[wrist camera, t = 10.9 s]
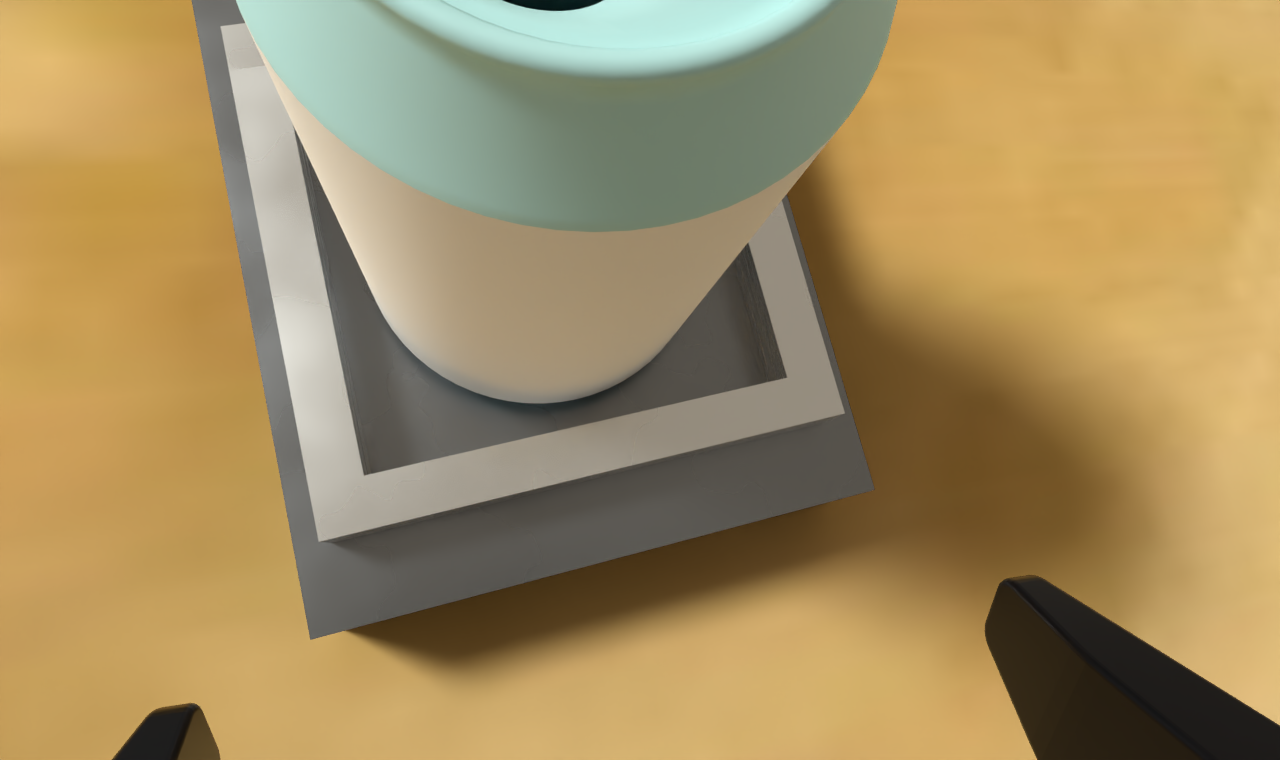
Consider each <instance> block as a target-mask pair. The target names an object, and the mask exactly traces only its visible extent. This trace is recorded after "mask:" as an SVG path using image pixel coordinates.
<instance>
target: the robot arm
mask: <svg viewBox="0 0 1280 760" xmlns="http://www.w3.org/2000/svg"><path fill="white" fill-rule="evenodd" d="M985 637H986V641H987V644H988V647H989V649H990V652H991V654H992V656H993V659H994V661H995V663H996V666H997V668H998V670H999V673H1000V675H1001V677H1002V680H1003V682H1004V684H1005V687H1006V689H1007V691H1008V694H1009V696H1010V698H1011V701H1012V703H1013V705H1014V708H1015V710H1016V712H1017V715H1018V717H1019V719H1020V722H1021V724H1022V726H1023V729H1024V731H1025V733H1026V736H1027V738H1028V740H1029V743H1030V745H1031V747H1032V749H1033V751H1034V753H1035V756H1036V758H1037V760H1280V725H1278V724H1277V723H1275V722H1273V721H1272V720H1270V719H1269V718H1267V717H1265V716H1264V715H1262V714H1260V713H1259V712H1257V711H1256V710H1254V709H1252V708H1251V707H1249V706H1248V705H1246V704H1244V703H1243V702H1241V701H1240V700H1238V699H1236V698H1235V697H1233V696H1232V695H1230V694H1228V693H1227V692H1225V691H1223V690H1222V689H1220V688H1219V687H1217V686H1215V685H1214V684H1212V683H1211V682H1209V681H1207V680H1206V679H1204V678H1203V677H1201V676H1199V675H1198V674H1196V673H1194V672H1193V671H1191V670H1190V669H1188V668H1186V667H1185V666H1183V665H1182V664H1180V663H1178V662H1177V661H1175V660H1174V659H1172V658H1170V657H1169V656H1167V655H1165V654H1164V653H1162V652H1161V651H1159V650H1157V649H1156V648H1154V647H1153V646H1151V645H1149V644H1148V643H1146V642H1145V641H1143V640H1141V639H1140V638H1138V637H1136V636H1135V635H1133V634H1132V633H1130V632H1128V631H1127V630H1125V629H1124V628H1122V627H1120V626H1119V625H1117V624H1116V623H1114V622H1112V621H1111V620H1109V619H1107V618H1106V617H1104V616H1103V615H1101V614H1099V613H1098V612H1096V611H1095V610H1093V609H1091V608H1090V607H1088V606H1087V605H1085V604H1083V603H1082V602H1080V601H1079V600H1077V599H1075V598H1074V597H1072V596H1070V595H1069V594H1067V593H1066V592H1064V591H1062V590H1061V589H1059V588H1058V587H1056V586H1054V585H1053V584H1051V583H1050V582H1048V581H1046V580H1045V579H1043V578H1041V577H1038V576H1035V575H1026V576H1020V577H1013V578H1007V579H1004V580H1003V581H1002V582H1001V583H1000V584H999V586H998V588H997V591H996V594H995V597H994V600H993V603H992V605H991V608H990V611H989V614H988V617H987V620H986V623H985ZM112 760H220V754H219V750H218V747H217V744H216V742H215V740H214V737H213V735H212V733H211V730H210V728H209V725H208V723H207V721H206V718H205V716H204V713H203V711H202V710H201V708H200V707H199V706H198V705H197V704H195V703H188V704H181V705H175V706H168V707H162V708H158V709H156V710H154V711H152V712H151V713H150V714H149V715H148V716H147V717H146V718H145V719H144V720H143V722H142V723H141V724H140V725H139V727H138V728H137V729H136V730H135V732H134V733H133V734H132V735H131V737H130V738H129V739H128V740H127V741H126V743H125V744H124V745H123V746H122V748H121V749H120V750H119V751H118V753H117V754H116V755H115V756H114V758H113V759H112Z"/></svg>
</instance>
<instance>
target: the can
mask: <svg viewBox="0 0 1280 760" xmlns="http://www.w3.org/2000/svg"><path fill="white" fill-rule="evenodd" d="M236 2H237V5H238V7H239V10H240V12H241V15H242V17H243V19H244V21H245V23H246V25H247V27H248V29H249V32H250V34H251V36H252V38H253V40H254V42H255V44H256V47H257V49H258V51H259V53H260V55H261V57H262V59H263V62H264V64H265V66H266V68H267V70H268V72H269V74H270V76H271V79H272V81H273V83H274V85H275V87H276V89H277V91H278V94H279V96H280V98H281V100H282V102H283V104H284V106H285V108H286V111H287V113H288V115H289V117H290V119H291V121H292V123H293V126H294V128H295V130H296V132H297V134H298V136H299V138H300V140H301V143H302V145H303V147H304V149H305V151H306V153H307V155H308V158H309V160H310V162H311V164H312V166H313V168H314V170H315V172H316V175H317V177H318V179H319V181H320V183H321V185H322V187H323V190H324V192H325V194H326V196H327V198H328V200H329V202H330V204H331V207H332V209H333V211H334V213H335V215H336V217H337V219H338V222H339V224H340V226H341V228H342V230H343V232H344V234H345V236H346V239H347V241H348V243H349V245H350V247H351V249H352V251H353V254H354V256H355V258H356V260H357V262H358V264H359V266H360V269H361V271H362V273H363V275H364V277H365V279H366V281H367V283H368V286H369V288H370V290H371V292H372V294H373V296H374V298H375V301H376V303H377V304H378V306H379V308H380V310H381V312H382V314H383V316H384V318H385V319H386V321H387V322H388V324H389V326H390V327H391V329H392V330H393V331H394V333H395V334H396V335H397V336H398V338H399V339H400V340H401V341H402V343H403V344H404V345H405V346H406V347H407V348H408V349H409V350H410V351H411V352H412V353H413V354H414V355H415V356H416V357H417V358H418V359H419V360H421V361H422V362H423V363H424V364H425V365H427V366H428V367H429V368H431V369H432V370H434V371H435V372H437V373H438V374H439V375H441V376H442V377H444V378H446V379H448V380H450V381H451V382H453V383H455V384H457V385H459V386H461V387H463V388H466V389H468V390H470V391H473V392H475V393H479V394H482V395H485V396H488V397H491V398H496V399H501V400H505V401H511V402H520V403H555V402H563V401H569V400H575V399H579V398H583V397H586V396H590V395H593V394H596V393H598V392H601V391H604V390H606V389H609V388H610V387H612V386H614V385H616V384H618V383H620V382H622V381H624V380H626V379H627V378H629V377H630V376H632V375H633V374H635V373H636V372H638V371H639V370H640V369H642V368H643V367H644V366H645V365H647V364H648V363H649V362H650V361H651V360H652V359H653V358H654V357H655V356H656V355H657V354H658V353H659V352H660V351H661V350H662V349H663V348H664V347H665V345H666V344H667V343H668V342H669V341H670V339H671V338H672V337H673V336H674V334H675V333H676V332H677V331H678V329H679V328H680V327H681V326H682V324H683V323H684V322H685V321H686V319H687V318H688V317H689V316H690V314H691V313H692V312H693V311H694V309H695V308H696V307H697V306H698V304H699V303H700V302H701V301H702V299H703V298H704V297H705V296H706V294H707V293H708V292H709V291H710V289H711V288H712V287H713V286H714V284H715V283H716V282H717V281H718V279H719V278H720V277H721V276H722V274H723V273H724V272H725V271H726V269H727V268H728V267H729V266H730V264H731V263H732V262H733V261H734V259H735V258H736V257H737V256H738V254H739V253H740V252H741V251H742V249H743V248H744V247H745V246H746V244H747V243H748V242H749V241H750V239H751V238H752V237H753V236H754V234H755V233H756V232H757V231H758V229H759V228H760V227H761V226H762V224H763V223H764V222H765V221H766V219H767V218H768V217H769V216H770V214H771V213H772V212H773V211H774V209H775V208H776V207H777V206H778V204H779V203H780V202H781V200H782V199H783V198H784V197H785V195H786V194H787V193H788V192H789V190H790V189H791V188H792V187H793V185H794V184H795V183H796V182H797V180H798V179H799V178H800V177H801V175H802V174H803V173H804V172H805V170H806V169H807V168H808V167H809V165H810V164H811V163H812V162H813V160H814V159H815V158H816V157H817V155H818V154H819V153H820V152H821V150H822V149H823V148H824V147H825V145H826V144H827V143H828V142H829V140H830V139H831V138H832V137H833V135H834V134H835V133H836V132H837V130H838V129H839V128H840V127H841V125H842V124H843V123H844V122H845V120H846V119H847V118H848V117H849V115H850V114H851V112H852V111H853V109H854V108H855V106H856V105H857V103H858V102H859V100H860V99H861V97H862V96H863V94H864V93H865V91H866V89H867V87H868V85H869V83H870V81H871V79H872V77H873V75H874V73H875V71H876V69H877V67H878V64H879V62H880V59H881V56H882V54H883V51H884V48H885V46H886V43H887V40H888V36H889V32H890V28H891V24H892V20H893V16H894V12H895V8H896V4H897V0H236Z"/></svg>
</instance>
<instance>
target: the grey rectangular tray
mask: <svg viewBox="0 0 1280 760" xmlns="http://www.w3.org/2000/svg"><path fill="white" fill-rule="evenodd" d="M192 4H193V10H194V15H195V21H196V26H197V31H198V37H199V42H200V47H201V53H202V58H203V64H204V69H205V74H206V80H207V85H208V91H209V96H210V101H211V107H212V112H213V117H214V123H215V128H216V134H217V139H218V144H219V150H220V155H221V161H222V166H223V171H224V177H225V182H226V188H227V193H228V198H229V204H230V209H231V214H232V220H233V225H234V231H235V236H236V241H237V247H238V252H239V258H240V263H241V268H242V274H243V279H244V284H245V290H246V295H247V301H248V306H249V311H250V317H251V322H252V328H253V333H254V338H255V344H256V349H257V354H258V360H259V365H260V371H261V376H262V381H263V387H264V392H265V398H266V403H267V408H268V414H269V419H270V425H271V430H272V435H273V441H274V446H275V451H276V457H277V462H278V468H279V473H280V478H281V484H282V489H283V495H284V500H285V505H286V511H287V516H288V521H289V527H290V532H291V538H292V543H293V548H294V554H295V559H296V565H297V570H298V575H299V581H300V586H301V592H302V597H303V602H304V608H305V613H306V618H307V624H308V629H309V635H310V640H311V639H315V638H319V637H322V636H326V635H330V634H334V633H337V632H341V631H345V630H349V629H353V628H356V627H360V626H364V625H368V624H371V623H375V622H379V621H383V620H386V619H390V618H394V617H398V616H402V615H405V614H409V613H413V612H417V611H420V610H424V609H428V608H432V607H435V606H439V605H443V604H447V603H450V602H454V601H458V600H462V599H466V598H469V597H473V596H477V595H481V594H484V593H488V592H492V591H496V590H499V589H503V588H507V587H511V586H515V585H518V584H522V583H526V582H530V581H533V580H537V579H541V578H545V577H548V576H552V575H556V574H560V573H563V572H567V571H571V570H575V569H579V568H582V567H586V566H590V565H594V564H597V563H601V562H605V561H609V560H612V559H616V558H620V557H624V556H628V555H631V554H635V553H639V552H643V551H646V550H650V549H654V548H658V547H661V546H665V545H669V544H673V543H676V542H680V541H684V540H688V539H692V538H695V537H699V536H703V535H707V534H710V533H714V532H718V531H722V530H725V529H729V528H733V527H737V526H741V525H744V524H748V523H752V522H756V521H759V520H763V519H767V518H771V517H774V516H778V515H782V514H786V513H789V512H793V511H797V510H801V509H805V508H808V507H812V506H816V505H820V504H823V503H827V502H831V501H835V500H838V499H842V498H846V497H850V496H853V495H857V494H861V493H865V492H869V491H872V490H875V489H874V485H873V482H872V479H871V475H870V472H869V469H868V465H867V462H866V458H865V455H864V452H863V448H862V445H861V442H860V438H859V435H858V432H857V428H856V425H855V422H854V418H853V415H852V411H851V408H850V405H849V401H848V398H847V395H846V391H845V388H844V385H843V381H842V378H841V375H840V371H839V368H838V364H837V361H836V358H835V354H834V351H833V348H832V344H831V341H830V338H829V334H828V331H827V328H826V324H825V321H824V317H823V314H822V311H821V307H820V304H819V301H818V297H817V294H816V291H815V287H814V284H813V281H812V277H811V274H810V270H809V267H808V264H807V260H806V257H805V254H804V250H803V247H802V244H801V240H800V237H799V234H798V230H797V227H796V223H795V220H794V217H793V213H792V210H791V207H790V203H789V200H788V197H787V194H786V195H785V197H784V198H783V199H782V200H781V202H780V203H779V204H778V206H777V207H776V208H775V209H774V211H773V212H772V213H771V214H770V216H769V217H768V218H767V219H766V221H765V222H764V223H763V224H762V226H761V227H760V228H759V229H758V231H757V232H756V233H755V234H754V236H753V237H752V238H751V239H750V241H749V242H748V243H747V244H746V246H745V247H744V248H743V249H742V251H741V252H740V253H739V254H738V256H737V257H736V258H735V259H734V261H733V262H732V263H731V264H730V266H729V267H728V268H727V269H726V271H725V272H724V273H723V274H722V276H721V277H720V278H719V279H718V281H717V282H716V283H715V284H714V286H713V287H712V288H711V289H710V291H709V292H708V293H707V294H706V296H705V297H704V298H703V299H702V301H701V302H700V303H699V304H698V306H697V307H696V308H695V309H694V311H693V312H692V313H691V314H690V316H689V317H688V318H687V319H686V321H685V322H684V323H683V324H682V326H681V327H680V328H679V329H678V331H677V332H676V333H675V334H674V336H673V337H672V338H671V339H670V341H669V342H668V343H667V344H666V345H665V347H664V348H663V349H662V350H661V351H660V352H659V353H658V354H657V355H656V356H655V357H654V358H653V359H652V360H651V361H650V362H649V363H648V364H647V365H645V366H644V367H643V368H642V369H640V370H639V371H638V372H636V373H635V374H633V375H632V376H630V377H629V378H627V379H626V380H624V381H622V382H620V383H618V384H616V385H614V386H612V387H610V388H609V389H606V390H604V391H601V392H598V393H596V394H593V395H590V396H586V397H583V398H579V399H575V400H569V401H563V402H555V403H520V402H511V401H505V400H501V399H496V398H491V397H488V396H485V395H482V394H479V393H475V392H473V391H470V390H468V389H466V388H463V387H461V386H459V385H457V384H455V383H453V382H451V381H450V380H448V379H446V378H444V377H442V376H441V375H439V374H438V373H437V372H435V371H434V370H432V369H431V368H429V367H428V366H427V365H425V364H424V363H423V362H422V361H421V360H419V359H418V358H417V357H416V356H415V355H414V354H413V353H412V352H411V351H410V350H409V349H408V348H407V347H406V346H405V345H404V344H403V343H402V341H401V340H400V339H399V338H398V336H397V335H396V334H395V333H394V331H393V330H392V329H391V327H390V326H389V324H388V322H387V321H386V319H385V318H384V316H383V314H382V312H381V310H380V308H379V306H378V304H377V303H376V301H375V298H374V296H373V294H372V292H371V290H370V288H369V286H368V283H367V281H366V279H365V277H364V275H363V273H362V271H361V269H360V266H359V264H358V262H357V260H356V258H355V256H354V254H353V251H352V249H351V247H350V245H349V243H348V241H347V239H346V236H345V234H344V232H343V230H342V228H341V226H340V224H339V222H338V219H337V217H336V215H335V213H334V211H333V209H332V207H331V204H330V202H329V200H328V198H327V196H326V194H325V192H324V190H323V187H322V185H321V183H320V181H319V179H318V177H317V175H316V172H315V170H314V168H313V166H312V164H311V162H310V160H309V158H308V155H307V153H306V151H305V149H304V147H303V145H302V143H301V140H300V138H299V136H298V134H297V132H296V130H295V128H294V126H293V123H292V121H291V119H290V117H289V115H288V113H287V111H286V108H285V106H284V104H283V102H282V100H281V98H280V96H279V94H278V91H277V89H276V87H275V85H274V83H273V81H272V79H271V76H270V74H269V72H268V70H267V68H266V66H265V64H264V62H263V59H262V57H261V55H260V53H259V51H258V49H257V47H256V44H255V42H254V40H253V38H252V36H251V34H250V32H249V29H248V27H247V25H246V23H245V21H244V19H243V17H242V15H241V12H240V10H239V7H238V5H237V2H236V0H192Z"/></svg>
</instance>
